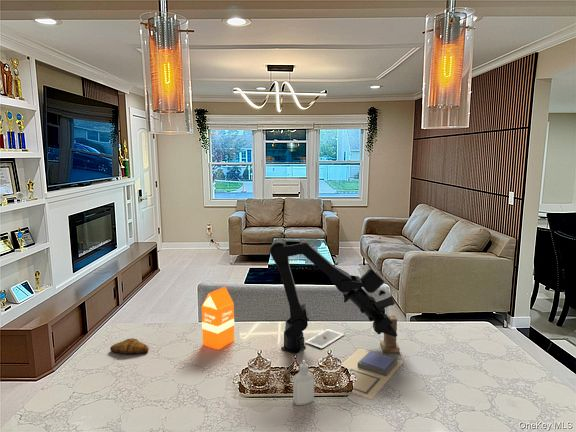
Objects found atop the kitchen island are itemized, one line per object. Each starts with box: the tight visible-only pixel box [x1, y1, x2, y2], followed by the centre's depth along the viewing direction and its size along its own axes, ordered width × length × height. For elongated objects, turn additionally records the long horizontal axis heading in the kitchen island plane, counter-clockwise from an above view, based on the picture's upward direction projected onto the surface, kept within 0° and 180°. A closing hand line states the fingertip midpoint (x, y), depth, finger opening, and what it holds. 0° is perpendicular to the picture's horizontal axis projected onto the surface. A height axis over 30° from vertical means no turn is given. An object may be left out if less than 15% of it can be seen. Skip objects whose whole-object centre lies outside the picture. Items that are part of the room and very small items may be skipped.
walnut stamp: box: [379, 314, 401, 354], centre depth 139 cm, size 6×6×12 cm
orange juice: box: [201, 286, 235, 350], centre depth 144 cm, size 8×9×20 cm
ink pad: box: [358, 350, 398, 376], centre depth 129 cm, size 10×10×2 cm
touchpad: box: [304, 328, 345, 349], centre depth 148 cm, size 8×15×2 cm, turn 140°
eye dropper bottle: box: [292, 359, 315, 406], centre depth 109 cm, size 4×6×12 cm
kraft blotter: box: [341, 348, 404, 400], centre depth 126 cm, size 16×26×1 cm, turn 145°
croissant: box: [109, 337, 150, 355], centre depth 138 cm, size 14×7×5 cm, turn 86°
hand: (394, 332), depth 139 cm, fingers open, 6 cm apart
